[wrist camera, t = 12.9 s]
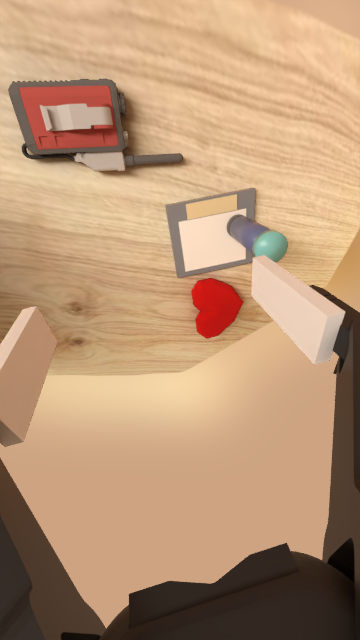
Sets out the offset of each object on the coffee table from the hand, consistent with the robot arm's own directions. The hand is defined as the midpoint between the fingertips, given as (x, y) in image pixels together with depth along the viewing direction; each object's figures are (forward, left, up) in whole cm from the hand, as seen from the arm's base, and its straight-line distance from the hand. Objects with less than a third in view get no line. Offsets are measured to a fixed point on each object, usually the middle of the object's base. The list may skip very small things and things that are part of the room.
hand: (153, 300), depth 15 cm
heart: (+11, -19, -27) cm, 35 cm away
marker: (+15, -4, -26) cm, 30 cm away
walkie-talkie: (-2, +10, -27) cm, 29 cm away
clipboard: (+11, -5, -27) cm, 29 cm away
